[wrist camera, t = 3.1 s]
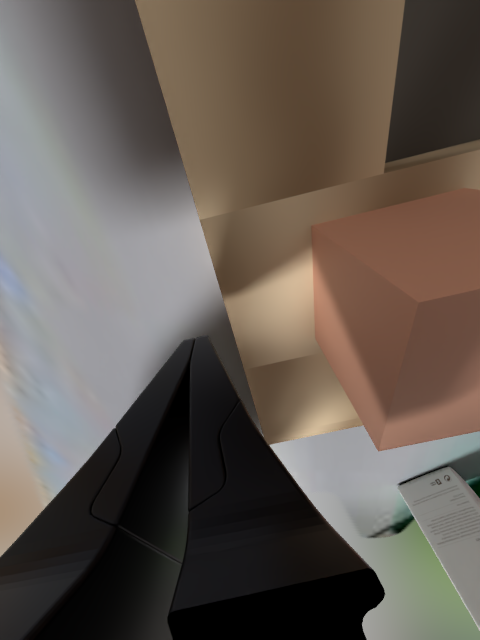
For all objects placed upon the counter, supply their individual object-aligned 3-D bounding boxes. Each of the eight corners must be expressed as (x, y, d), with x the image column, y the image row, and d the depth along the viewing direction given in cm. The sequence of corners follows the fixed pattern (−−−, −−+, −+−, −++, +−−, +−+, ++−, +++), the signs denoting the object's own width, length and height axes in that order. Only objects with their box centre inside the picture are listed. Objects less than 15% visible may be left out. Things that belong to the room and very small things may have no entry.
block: (315, 338, 11) (378, 451, 7) (311, 225, 8) (418, 302, 4) (426, 313, 10) (562, 414, 6) (464, 187, 8) (756, 226, 4)
